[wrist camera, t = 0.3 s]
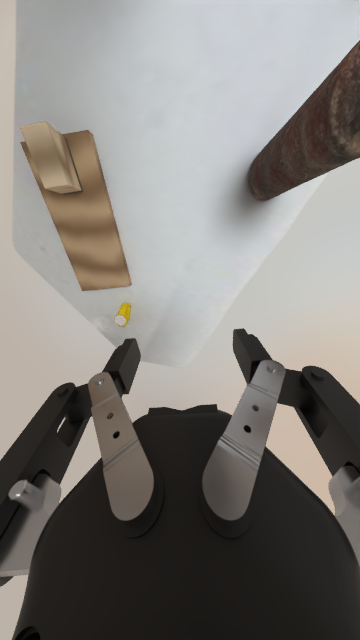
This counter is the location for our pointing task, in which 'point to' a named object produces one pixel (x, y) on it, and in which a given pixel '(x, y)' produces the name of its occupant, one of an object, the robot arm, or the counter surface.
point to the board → (87, 219)
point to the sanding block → (52, 158)
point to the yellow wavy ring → (123, 315)
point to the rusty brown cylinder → (313, 135)
